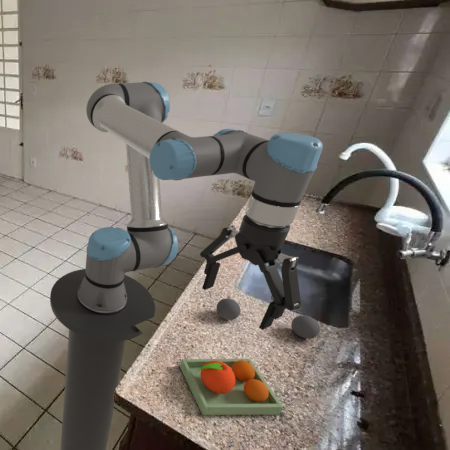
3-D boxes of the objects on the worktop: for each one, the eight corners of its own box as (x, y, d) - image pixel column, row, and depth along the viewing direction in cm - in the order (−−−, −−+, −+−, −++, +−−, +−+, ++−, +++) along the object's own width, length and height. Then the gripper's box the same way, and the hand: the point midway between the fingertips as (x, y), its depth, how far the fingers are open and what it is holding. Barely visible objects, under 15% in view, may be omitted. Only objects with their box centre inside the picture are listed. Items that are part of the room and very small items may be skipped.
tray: (202, 414, 75) (205, 407, 74) (179, 366, 86) (181, 359, 85) (279, 414, 75) (283, 406, 74) (246, 365, 86) (249, 358, 85)
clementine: (197, 397, 78) (204, 376, 75) (189, 371, 84) (195, 351, 81) (235, 402, 77) (244, 381, 74) (224, 376, 83) (232, 355, 80)
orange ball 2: (236, 393, 79) (242, 379, 77) (249, 385, 81) (255, 371, 79) (256, 410, 75) (263, 396, 73) (269, 401, 77) (276, 387, 75)
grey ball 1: (209, 314, 102) (214, 298, 99) (223, 307, 105) (228, 291, 102) (228, 327, 98) (234, 311, 95) (241, 320, 100) (248, 304, 97)
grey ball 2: (283, 331, 96) (291, 315, 93) (295, 324, 98) (303, 307, 96) (307, 346, 91) (315, 329, 88) (319, 338, 94) (328, 321, 91)
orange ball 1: (225, 373, 84) (230, 360, 81) (237, 366, 85) (242, 353, 83) (243, 388, 80) (249, 375, 78) (255, 380, 82) (262, 367, 80)
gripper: (357, 247, 57) (306, 340, 67) (222, 191, 76) (198, 270, 87) (331, 258, 54) (282, 353, 64) (197, 197, 73) (176, 278, 84)
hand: (234, 305), depth 75 cm, fingers open, 13 cm apart
